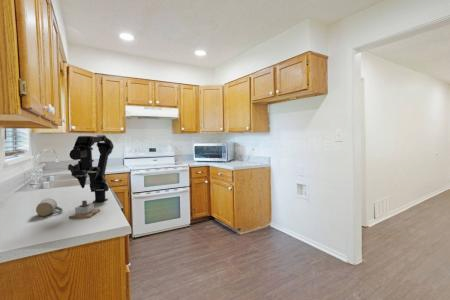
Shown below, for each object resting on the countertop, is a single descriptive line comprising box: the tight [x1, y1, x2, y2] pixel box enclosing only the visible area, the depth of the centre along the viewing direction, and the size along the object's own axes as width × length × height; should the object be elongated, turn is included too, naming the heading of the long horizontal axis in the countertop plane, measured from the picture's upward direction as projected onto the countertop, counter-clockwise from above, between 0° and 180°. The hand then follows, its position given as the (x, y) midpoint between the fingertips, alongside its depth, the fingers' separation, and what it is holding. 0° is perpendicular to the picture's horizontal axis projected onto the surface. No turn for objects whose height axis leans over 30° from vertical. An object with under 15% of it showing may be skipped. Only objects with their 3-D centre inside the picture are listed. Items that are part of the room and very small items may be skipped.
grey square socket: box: [74, 203, 95, 215], centre depth 118 cm, size 6×6×4 cm
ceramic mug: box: [35, 197, 64, 217], centre depth 121 cm, size 11×8×8 cm
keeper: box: [68, 199, 101, 219], centre depth 118 cm, size 10×10×7 cm
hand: (87, 186), depth 130 cm, fingers open, 9 cm apart
